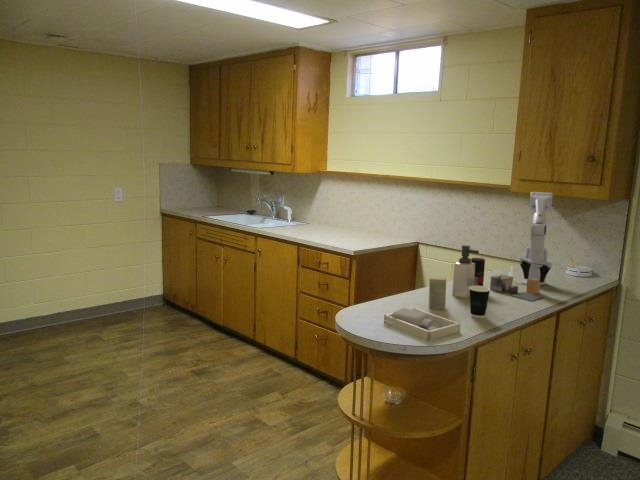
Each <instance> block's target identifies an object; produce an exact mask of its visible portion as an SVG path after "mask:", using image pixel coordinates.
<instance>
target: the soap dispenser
mask: <svg viewBox="0 0 640 480" xmlns="http://www.w3.org/2000/svg"><path fill="white" fill-rule="evenodd" d="M479 251H480V250H478V249H477V250H476V249H471V245H466V244H462V245H461V257H460V258H459V259H458V261H456V262H454V263H453V276H452V277H453V278H452V296H454V297H457V298H462V299H467V298H470V289H469V287H470V286H474V275H475V263H472V262H471V258H470V254H476V255H478V254H479Z"/></svg>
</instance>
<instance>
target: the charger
mask: <svg viewBox="0 0 640 480" xmlns="http://www.w3.org/2000/svg"><path fill="white" fill-rule="evenodd" d="M411 309H412V308H407V307H401V308H400V309H397V310H396V311H394V312H392V313H393V314H392V317H394V318H396V319H399V320H402V321H404V322H407V323H410V324H412V325H415V326H418V327H420V328H427V329H430V328H431V327H435V326H437V324H436V323H434V321H433V320H429V319H427V314H426V313H424V312H419V311H415V310H411Z"/></svg>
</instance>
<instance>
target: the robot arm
mask: <svg viewBox="0 0 640 480" xmlns="http://www.w3.org/2000/svg"><path fill="white" fill-rule="evenodd" d="M553 198H554V194H553V193H552V192H541V191H531V192H530V197H529V210H530V211H533V215H532V221H531V222H532V223H531V225H530V231H529V234H530V245H529V246H527V247H526V248H525V251H524V257H523V256H522V257H519V262H520V264H519V265H520V267H521V269H522V273H523V279H524V280H523V281H521V284H525V285H527V279H531V278H534V279H538V280H540V286H543V285H547V284H548V282H546V280H547V275H548V274H549V272H550V270H551V269H552V268H553V262H549V261H548V250H547V248H546V247H545V239H546V237H547V233H548V232H547V230H548V226H547V215H546V213H548V212H550V211H551V209H552V205H553Z"/></svg>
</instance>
